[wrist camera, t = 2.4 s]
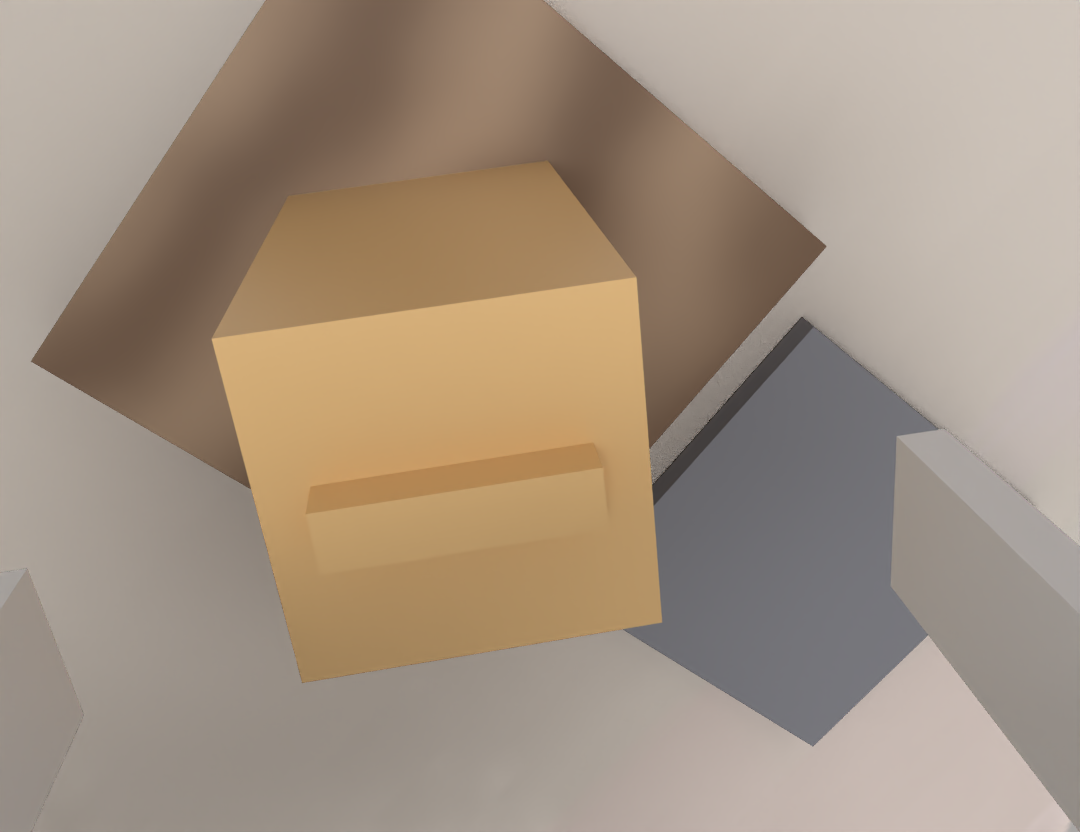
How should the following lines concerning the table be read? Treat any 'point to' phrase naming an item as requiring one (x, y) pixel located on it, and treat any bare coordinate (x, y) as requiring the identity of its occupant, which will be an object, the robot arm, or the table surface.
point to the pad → (787, 539)
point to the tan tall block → (444, 420)
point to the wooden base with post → (409, 153)
